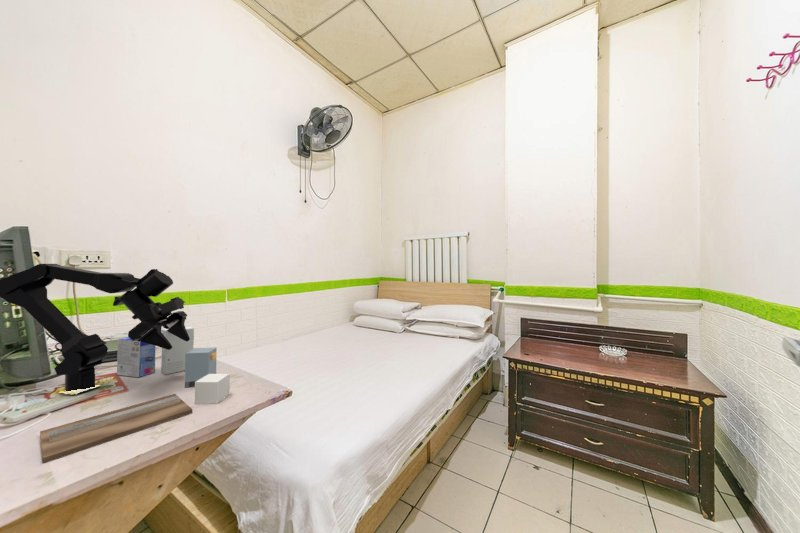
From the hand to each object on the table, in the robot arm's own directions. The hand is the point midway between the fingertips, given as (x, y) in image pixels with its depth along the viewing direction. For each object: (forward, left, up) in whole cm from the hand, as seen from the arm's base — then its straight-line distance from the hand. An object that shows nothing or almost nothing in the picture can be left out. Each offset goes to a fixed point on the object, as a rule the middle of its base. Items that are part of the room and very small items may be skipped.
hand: (180, 344), depth 90 cm
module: (+5, +3, -13) cm, 14 cm away
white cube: (+17, -5, -13) cm, 22 cm away
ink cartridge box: (-23, +5, -13) cm, 27 cm away
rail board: (+7, -21, -13) cm, 25 cm away
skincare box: (-13, +11, -13) cm, 21 cm away
